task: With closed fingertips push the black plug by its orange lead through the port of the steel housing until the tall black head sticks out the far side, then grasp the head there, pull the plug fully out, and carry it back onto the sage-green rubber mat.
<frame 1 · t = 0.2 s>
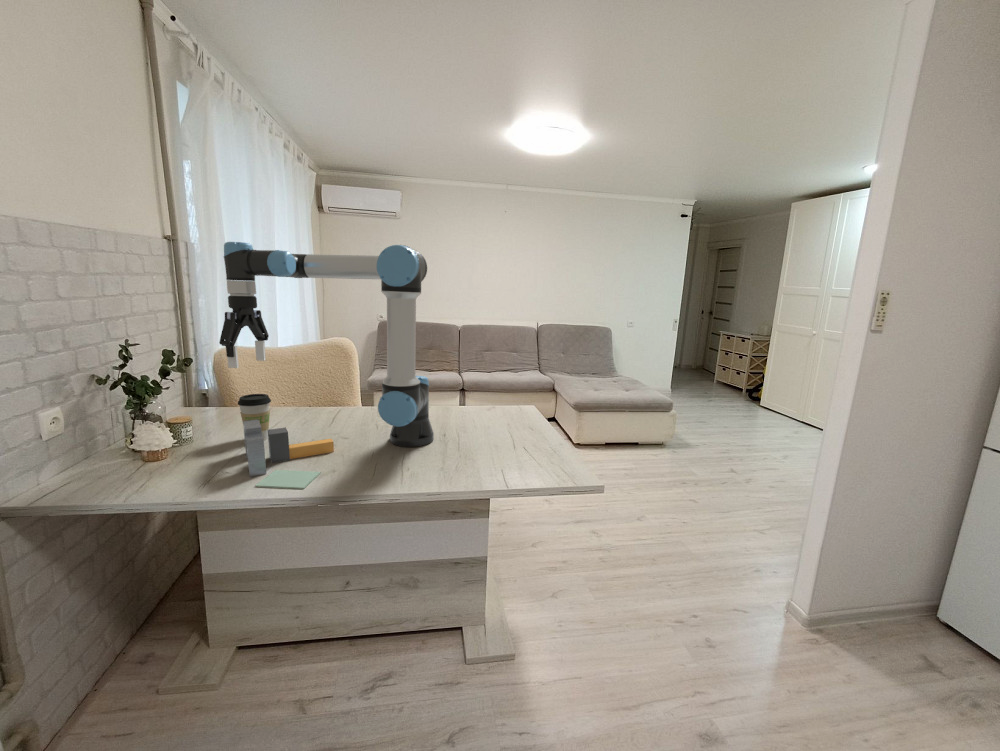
hand: (247, 364, 135), 28 cm above the table, fingers open, 13 cm apart
housing: (255, 462, 128), on the table
coffee cup: (257, 439, 147), on the table
plug: (288, 457, 133), on the table
mat: (289, 479, 118), on the table
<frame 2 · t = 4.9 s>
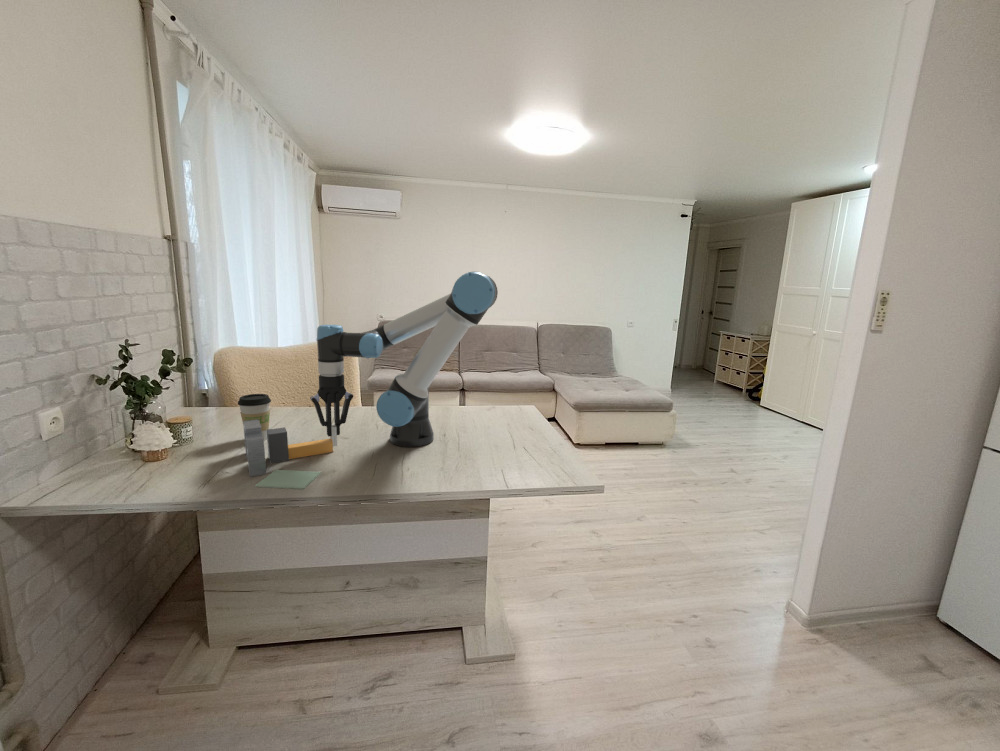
hand: (333, 444, 140), 2 cm above the table, fingers closed
plug: (287, 457, 133), on the table, touching gripper
everything else where it was.
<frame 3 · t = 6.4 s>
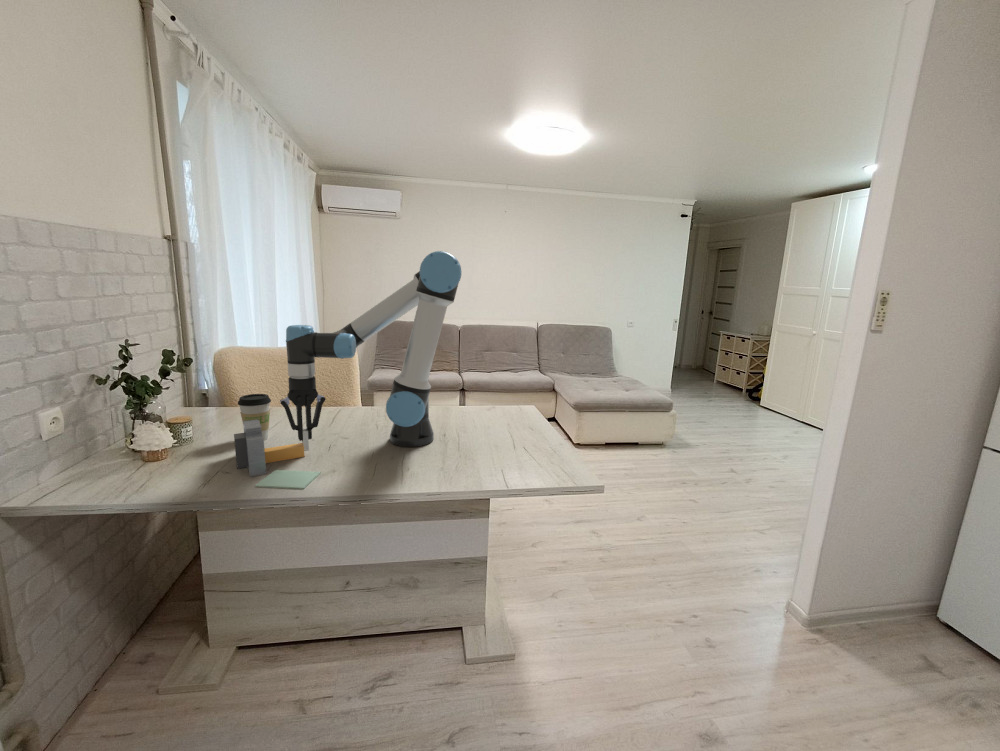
hand: (305, 449, 135), 2 cm above the table, fingers closed
plug: (256, 462, 128), on the table, touching gripper
everything else where it was.
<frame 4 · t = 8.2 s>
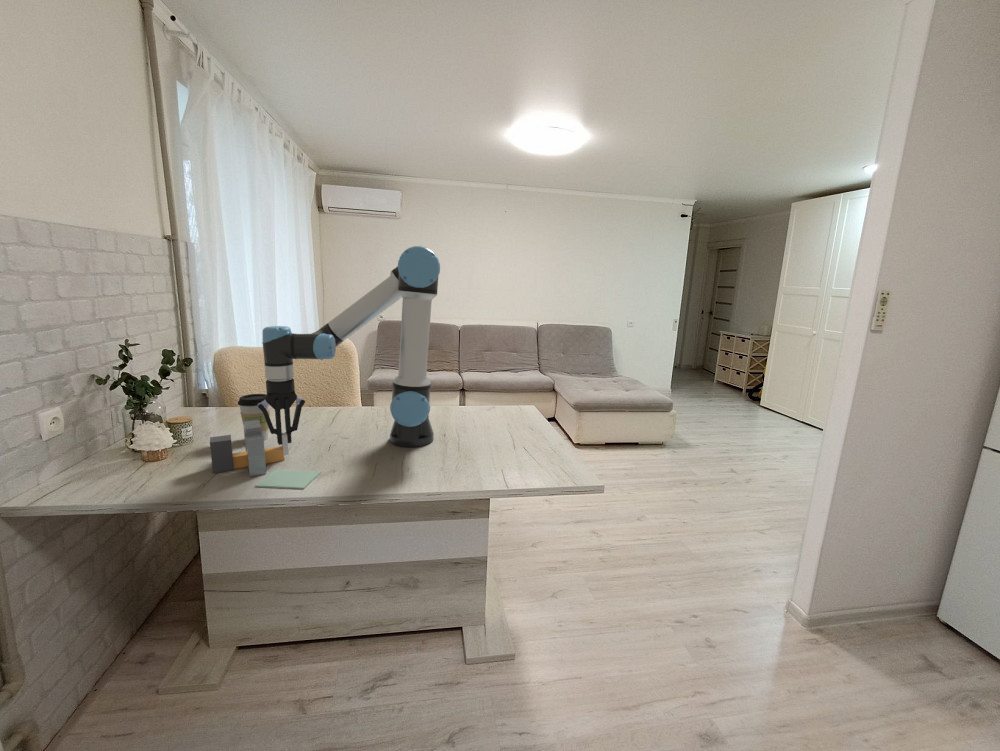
hand: (285, 453, 132), 1 cm above the table, fingers closed
plug: (233, 466, 125), on the table, touching gripper
everything else where it was.
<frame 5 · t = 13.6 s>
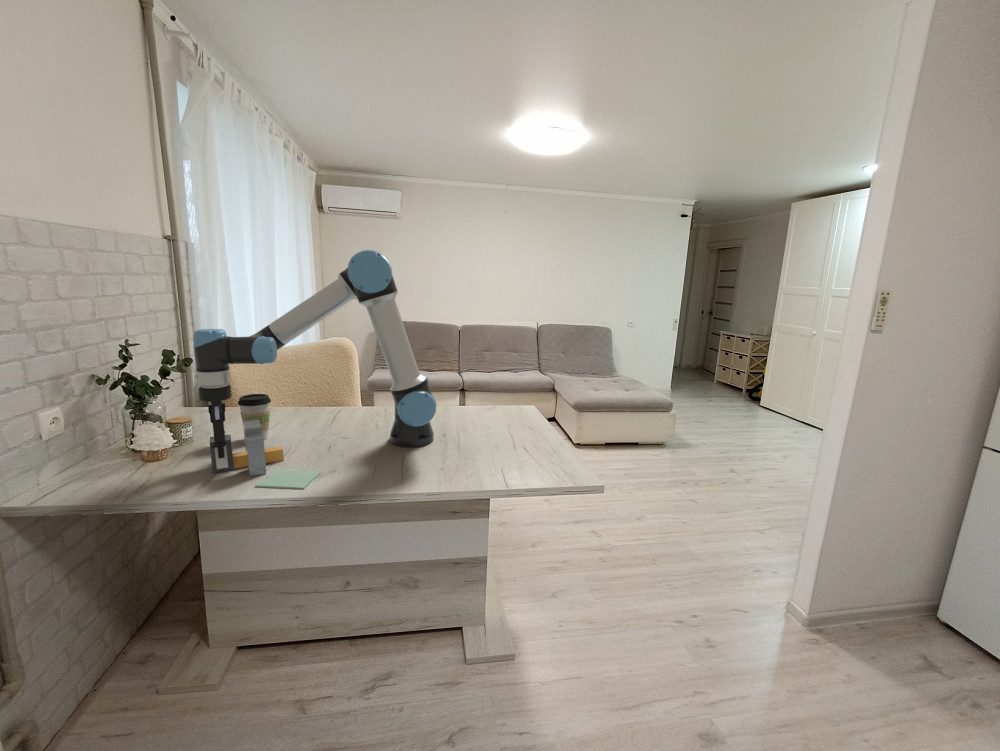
hand: (222, 464, 123), 1 cm above the table, fingers closed on plug, 5 cm apart
plug: (233, 466, 125), on the table, touching gripper
everything else where it was.
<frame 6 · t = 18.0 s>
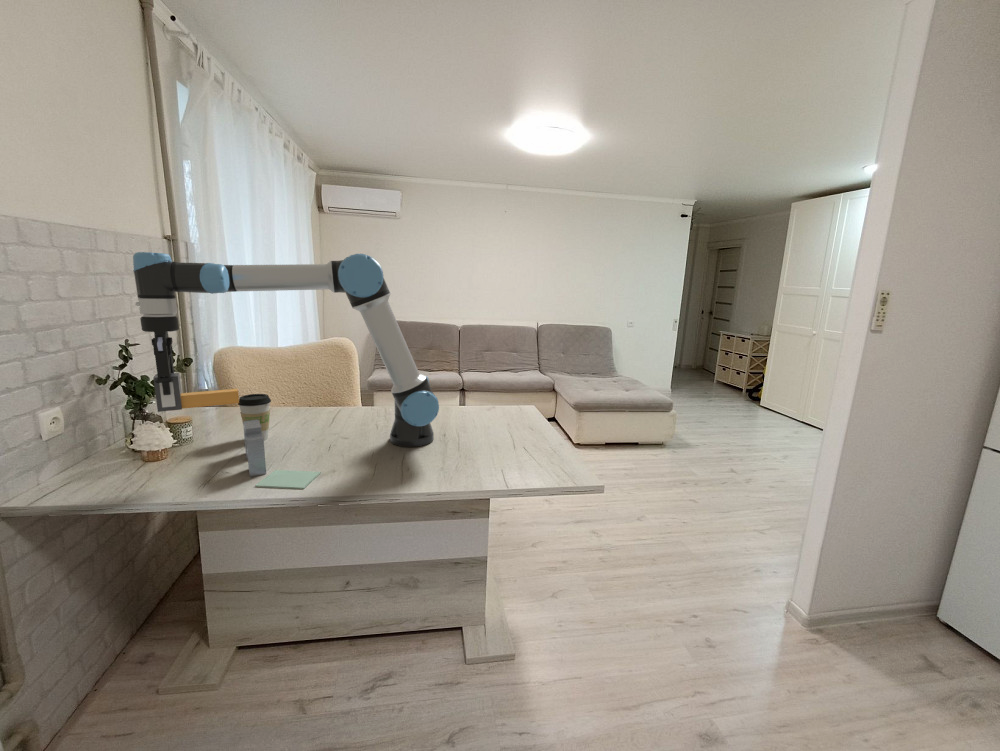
hand: (170, 403, 114), 21 cm above the table, fingers closed on plug, 5 cm apart
plug: (182, 407, 115), point 19 cm above the table, touching gripper
everything else where it was.
when the fingers open (3 cm above the table, at t = 22.2 s): plug drops 1 cm, resting on mat.
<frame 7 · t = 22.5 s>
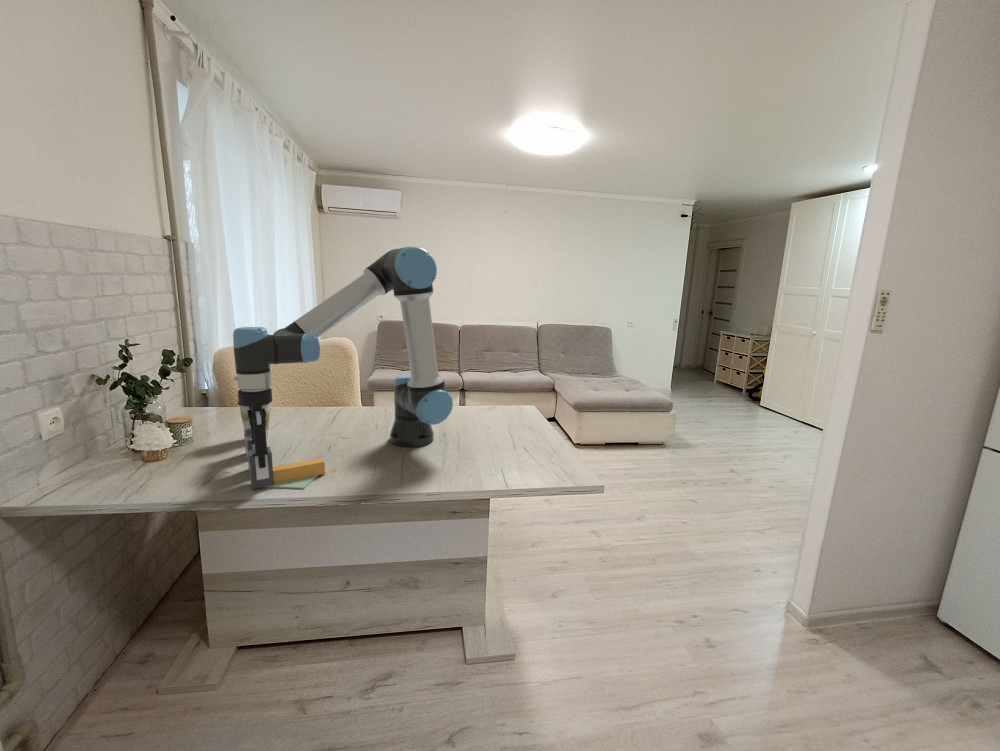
hand: (261, 472, 113), 4 cm above the table, fingers open, 8 cm apart
plug: (272, 481, 115), resting on mat
everything else where it was.
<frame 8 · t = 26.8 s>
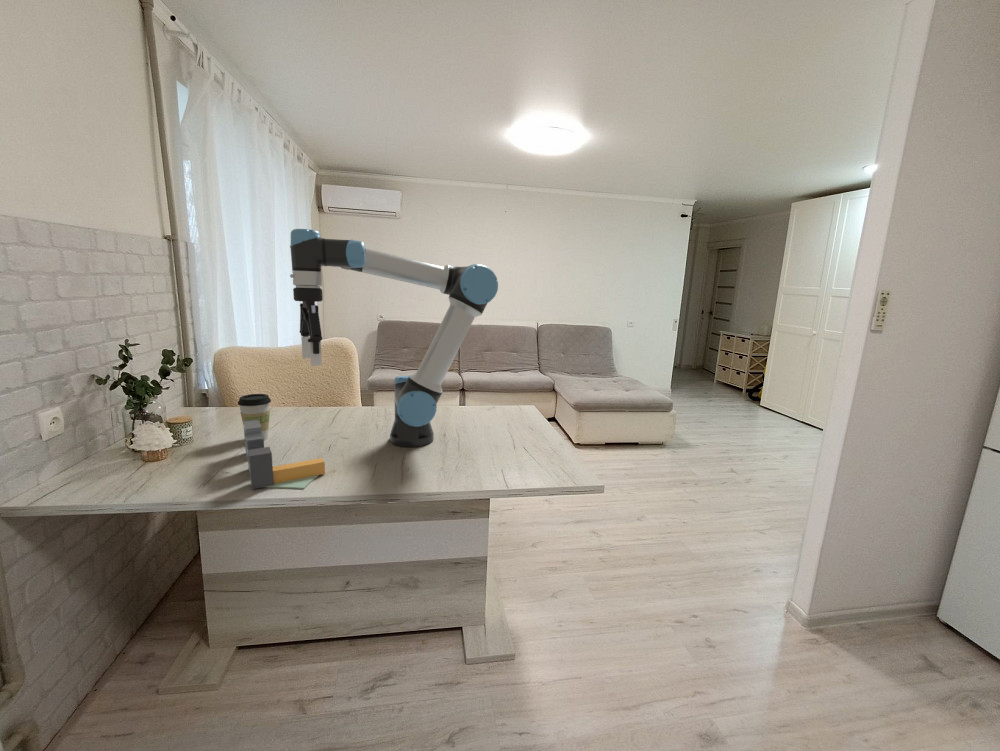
hand: (311, 361, 125), 31 cm above the table, fingers open, 13 cm apart
nothing on the table moved.
at the end: plug inside the target area (0.4 cm from its centre), resting on mat; plug touching mat; the gripper is holding nothing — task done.
